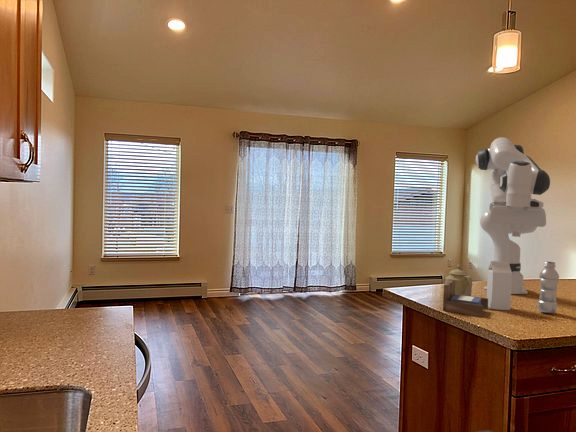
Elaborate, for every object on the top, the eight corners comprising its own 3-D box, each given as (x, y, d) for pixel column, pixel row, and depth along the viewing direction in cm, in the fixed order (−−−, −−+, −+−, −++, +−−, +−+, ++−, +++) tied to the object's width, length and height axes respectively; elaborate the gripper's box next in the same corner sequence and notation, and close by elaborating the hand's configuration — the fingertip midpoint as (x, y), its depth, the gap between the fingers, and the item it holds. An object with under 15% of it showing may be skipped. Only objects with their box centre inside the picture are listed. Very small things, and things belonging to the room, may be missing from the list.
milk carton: (510, 310, 175) (512, 263, 174) (491, 309, 176) (493, 262, 175) (504, 306, 182) (506, 260, 181) (486, 305, 183) (488, 259, 182)
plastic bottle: (538, 309, 177) (541, 260, 176) (558, 313, 173) (561, 262, 172) (535, 312, 172) (538, 262, 171) (555, 316, 168) (558, 264, 167)
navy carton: (454, 306, 180) (454, 294, 180) (480, 310, 175) (481, 297, 175) (449, 311, 173) (450, 298, 172) (477, 315, 167) (478, 302, 167)
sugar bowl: (484, 299, 193) (485, 265, 193) (468, 302, 187) (470, 267, 187) (455, 293, 206) (456, 261, 205) (439, 295, 200) (441, 262, 199)
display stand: (451, 303, 185) (452, 279, 185) (487, 308, 178) (488, 283, 178) (442, 310, 172) (443, 285, 172) (482, 316, 165) (483, 289, 164)
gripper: (488, 201, 179) (486, 235, 180) (547, 203, 168) (544, 239, 169) (490, 200, 184) (489, 233, 185) (547, 202, 173) (545, 237, 174)
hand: (516, 236), depth 177 cm, fingers closed
